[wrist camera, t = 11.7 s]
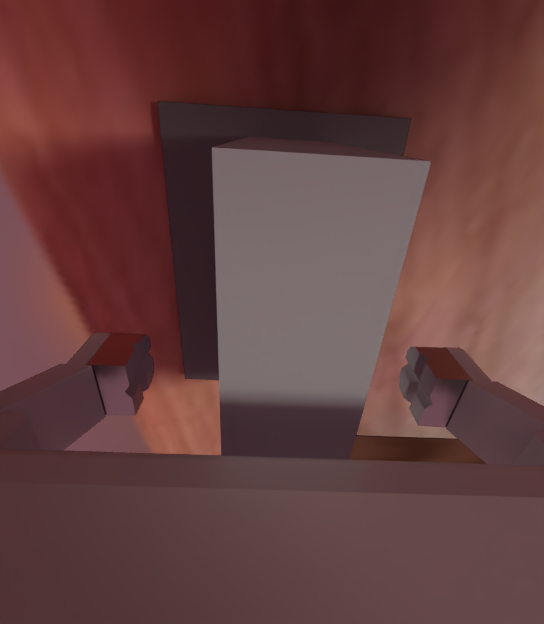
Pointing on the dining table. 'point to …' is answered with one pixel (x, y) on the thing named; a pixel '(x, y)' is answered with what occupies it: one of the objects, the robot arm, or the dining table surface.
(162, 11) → the dining table surface
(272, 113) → the mat
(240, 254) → the block
